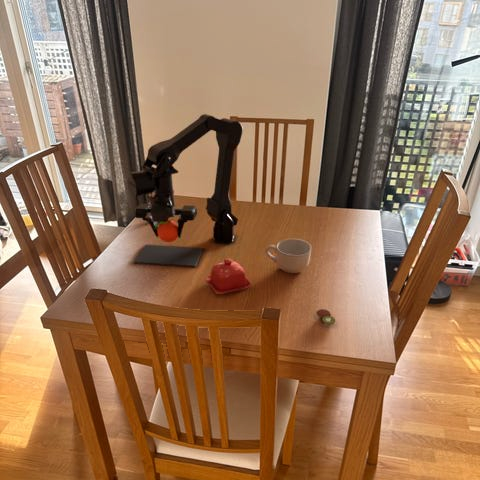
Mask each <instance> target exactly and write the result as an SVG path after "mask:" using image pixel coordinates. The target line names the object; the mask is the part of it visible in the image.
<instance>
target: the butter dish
mask: <svg viewBox="0 0 480 480" xmlns="http://www.w3.org/2000/svg"><path fill="white" fill-rule="evenodd" d="M204 280H205V281H206V282H207V284H208V285H209V286H210V287H211V289H212V290H213V291H214V293H215V294H217V295H223V294H227V293H232V292H236V291H240V290H246V289H248V288H252V287H253V284H252V283H251V281H250V280H249V278H247V276H246V271H245V270H244V268H243V267H242V265H240V264H239V263H237V262H236V261H233V259H231V258H225V259H224V260H223V262H220V263H217V264H215V265H213V266H212V268H211V272H210V275H207V276H205V278H204Z"/></svg>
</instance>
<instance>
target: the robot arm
mask: <svg viewBox="0 0 480 480" xmlns="http://www.w3.org/2000/svg"><path fill="white" fill-rule="evenodd" d="M243 129H244V128H243V126H242V124H241V123H240V122H239V121H236V120H234V119H230V118H226V117H223V118H217V117H215V116H214V115H210V114H207V113H204V114H201V115H199V117H198V118H197V119H196V120H194V121H193V122H191V123H190V124H189V125H188V126H187V127H185V128H183V129H182V130H181V131H179V132H178V133H177V134H175V135H174V136H173V137H170V138H169V139H165V140H162V141H159V142H157V143H155V144H153V145H151V146H150V147H149V148H148V150H147V156H146V158H145V160H144V162H143V164H142V166H141V170H138V171H130V172H129V173H128V174H129V177H127V178H128V179H127V182H126V184H127V188H128V192H129V193H130V195H131V196H132V197H133V198H136V197H141V196H144V195H147V194H149V193H152V192H153V191H154V193H155V195H154V203H153V206H151V204H150V203H139V204H138V205H137V206H136V208H135V209H134V211H133V213H134V218H135V219H142V221H145V222H146V223H148V224H149V226H150V228H151V230H152V231H153V233H154V236H155V237H156V238H158V237H159V236H158V232H157V229H158V226H159V225H158V226H157V227H156V225H157V224H158V223H157V221H161V222H167V221H168V220H169V219H171V218H175V216H178V217H179V218H178V219H177V221H176V222H177V226H178V237H177V239H181V236H182V233H183V229H184V226H185V223H188V221H190V222H191V221H194V220H195V218H196V217H197V215H198V208H197V207H196V206H195V205H183V207H181V208H176V203H175V189H174V185H173V184H174V182H173V175H175V174H179V170H178V169H176V168H175V167H174V166H173V165H174V164H175V163H176V162H177V161H178V160H179V158H180V155H181V154H182V153H183V152H184V151H185V150H186V149H188V148H189V147H191V146H193V144H194V143H196V142H197V141H198V140H200V139H201V138H202V137H204V136H205V135H207V134H208V133H209V132H211V131H213V132H215V139H216V143H217V146H218V155H217V165H216V172H215V173H216V174H215V183H214V191H213V194H212V195H211V197H207V198H206V206H205V210H206V214H207V215H208V216H209V217H210V219H211V221H212V222H214V225H213V228H212V233H213V234H212V235H213V239H214V240H213V242H214V243H224V244H233V242H234V240H235V233H234V232H235V229H234V228H235V226H237V225H238V222H239V218H237V216H235V215H234V214H233V212H232V211H233V210H232V207H233V206H232V202H231V199H230V187H231V182H232V181H231V179H232V171H233V165H234V157H235V156H234V155H235V150H236V149H237V148H238V146H239V145H240V143H241V139H242V135H243ZM155 227H156V228H155ZM154 229H155V230H154Z"/></svg>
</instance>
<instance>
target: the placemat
mask: <svg viewBox="0 0 480 480" xmlns="http://www.w3.org/2000/svg"><path fill="white" fill-rule="evenodd" d="M203 251H204V248H203V247H193V246H192V247H190V246H189V247H188V246H171V245H155V244H145V245H144V247H143V248H142V250H141V252H140V253H139V254H138V256H137V257H136V259H135V260H134V264H138V265H153V266H169V267H171V266H172V267H174V266H175V267H188V268H196V267H197V264H198V262H199V260H200V258H201V255H202V253H203Z"/></svg>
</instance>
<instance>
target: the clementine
mask: <svg viewBox="0 0 480 480" xmlns="http://www.w3.org/2000/svg"><path fill="white" fill-rule="evenodd" d="M157 226H158V229H157V232H158V237H159V239H160V240H161V241H163V242H165V243H172V242H174V241H176V240H177V239H178V223H176V222H175V221H173V220H170V219H168V221H167V222H160V223H157V225H156V227H157ZM156 227H155V228H156ZM154 230H155V229H154Z"/></svg>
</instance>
